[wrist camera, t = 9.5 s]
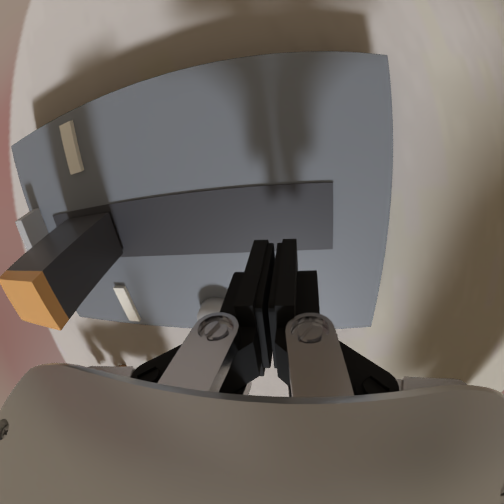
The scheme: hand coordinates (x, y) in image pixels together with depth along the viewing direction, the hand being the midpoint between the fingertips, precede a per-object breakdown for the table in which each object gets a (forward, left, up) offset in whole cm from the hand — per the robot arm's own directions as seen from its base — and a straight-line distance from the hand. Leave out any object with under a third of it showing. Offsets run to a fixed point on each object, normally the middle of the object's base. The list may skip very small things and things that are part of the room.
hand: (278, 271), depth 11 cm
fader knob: (+12, -1, -3) cm, 12 cm away
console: (+6, -1, -6) cm, 9 cm away
